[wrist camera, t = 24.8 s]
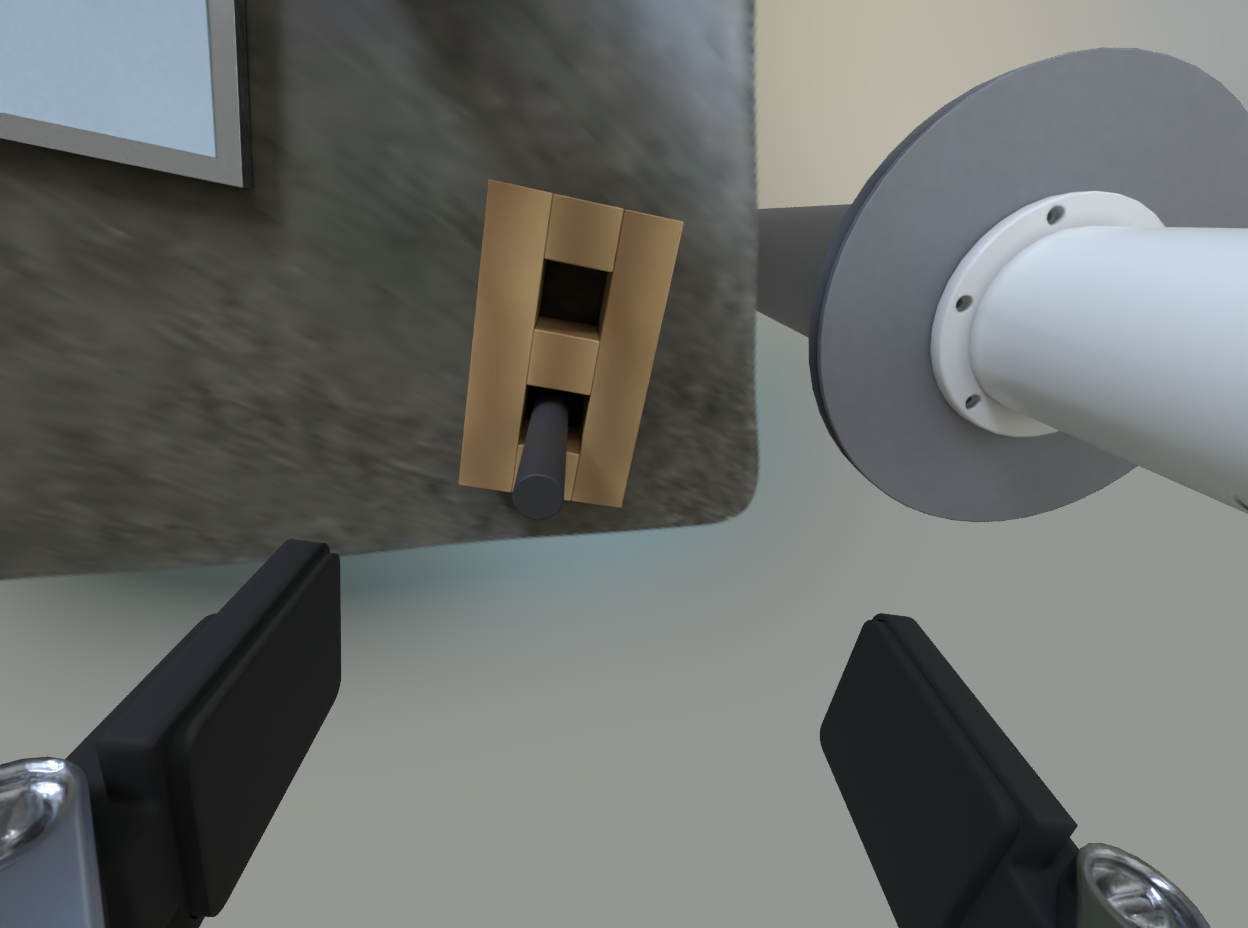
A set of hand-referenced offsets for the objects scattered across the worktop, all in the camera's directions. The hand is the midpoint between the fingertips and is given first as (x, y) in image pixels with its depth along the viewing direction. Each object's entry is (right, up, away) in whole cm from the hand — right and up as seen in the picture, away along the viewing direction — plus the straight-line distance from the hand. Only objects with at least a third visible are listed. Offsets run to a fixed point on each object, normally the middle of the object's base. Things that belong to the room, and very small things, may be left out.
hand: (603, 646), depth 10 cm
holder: (-3, +9, +20) cm, 22 cm away
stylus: (-4, +7, +21) cm, 22 cm away
